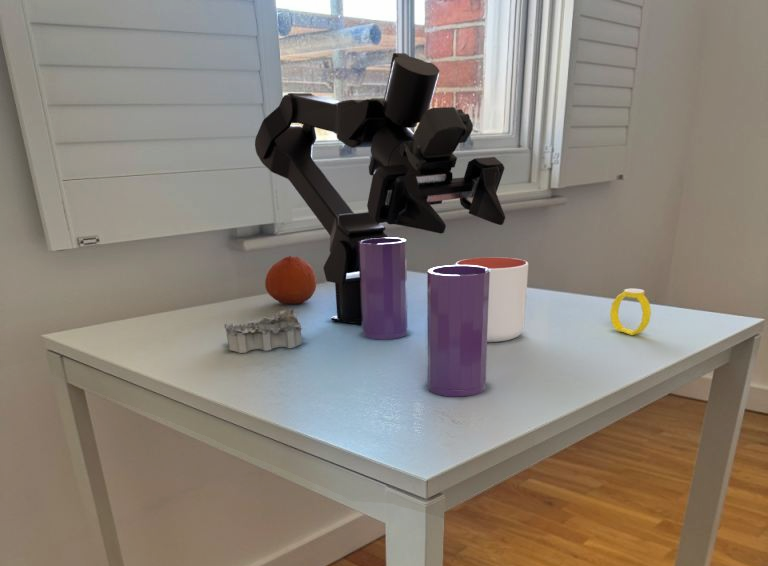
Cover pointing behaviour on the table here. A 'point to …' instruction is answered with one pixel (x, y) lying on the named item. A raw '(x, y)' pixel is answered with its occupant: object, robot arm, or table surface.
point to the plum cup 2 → (457, 329)
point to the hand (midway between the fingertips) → (474, 225)
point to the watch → (644, 304)
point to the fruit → (291, 281)
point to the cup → (504, 295)
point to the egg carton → (265, 333)
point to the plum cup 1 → (383, 287)
